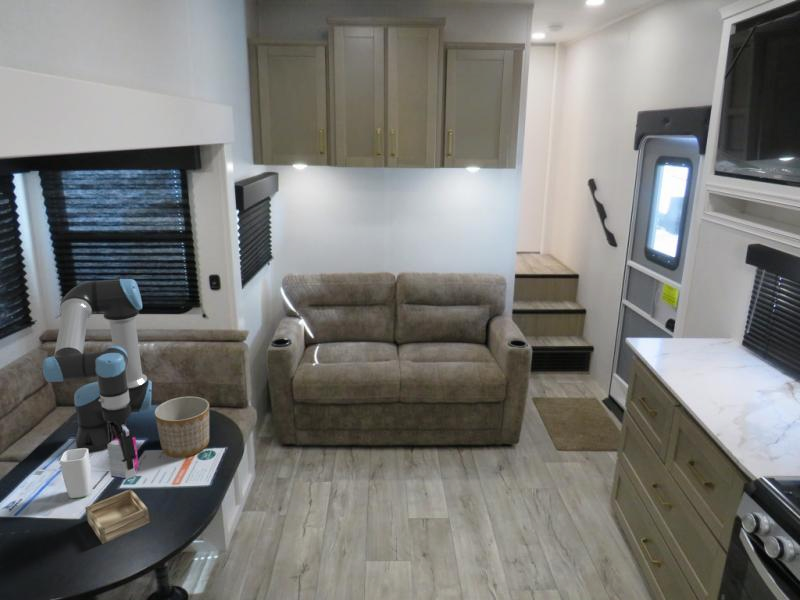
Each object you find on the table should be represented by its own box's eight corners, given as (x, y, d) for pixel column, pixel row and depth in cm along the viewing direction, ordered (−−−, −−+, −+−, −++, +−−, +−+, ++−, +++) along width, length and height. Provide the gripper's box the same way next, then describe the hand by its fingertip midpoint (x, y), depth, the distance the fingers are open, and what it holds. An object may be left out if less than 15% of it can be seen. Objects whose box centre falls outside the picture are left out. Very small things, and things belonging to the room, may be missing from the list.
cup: (95, 485, 187) (89, 447, 182) (90, 498, 180) (83, 459, 176) (71, 488, 185) (64, 450, 180) (65, 502, 178) (58, 462, 174)
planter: (190, 465, 199) (186, 424, 195) (147, 454, 205) (142, 415, 200) (222, 438, 217) (219, 401, 212) (182, 429, 223) (178, 392, 218)
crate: (87, 521, 170) (85, 507, 168) (132, 501, 179) (131, 488, 178) (102, 544, 161) (100, 529, 159) (149, 522, 170) (147, 508, 168)
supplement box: (128, 480, 166) (123, 446, 163) (110, 477, 167) (105, 444, 164) (140, 469, 172) (135, 436, 168) (123, 466, 172) (118, 434, 169)
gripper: (90, 397, 167) (100, 462, 173) (115, 421, 153) (125, 491, 160) (115, 389, 172) (124, 453, 178) (143, 412, 158) (151, 480, 165)
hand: (125, 471), depth 169 cm, fingers closed on supplement box, 8 cm apart
